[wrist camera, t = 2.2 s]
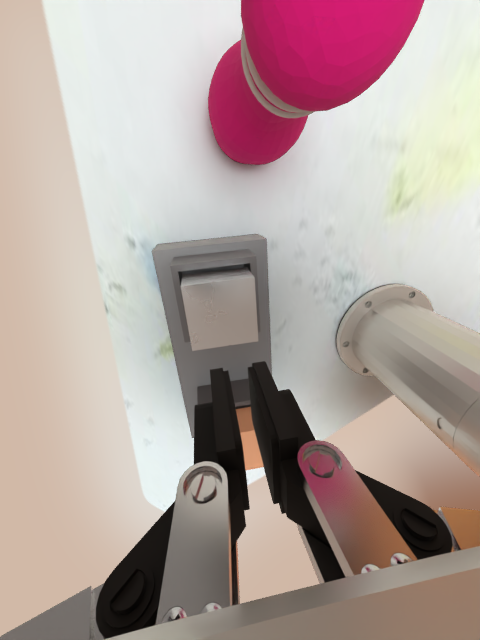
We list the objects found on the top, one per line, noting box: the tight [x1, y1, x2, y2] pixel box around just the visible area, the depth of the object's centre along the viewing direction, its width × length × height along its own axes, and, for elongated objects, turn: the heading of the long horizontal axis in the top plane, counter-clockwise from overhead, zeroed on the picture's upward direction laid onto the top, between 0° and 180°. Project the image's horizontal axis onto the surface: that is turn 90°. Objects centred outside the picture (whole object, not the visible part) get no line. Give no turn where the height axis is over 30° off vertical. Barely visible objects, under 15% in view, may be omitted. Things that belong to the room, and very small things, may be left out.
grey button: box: [181, 268, 258, 351], centre depth 20 cm, size 5×5×3 cm
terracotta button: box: [236, 407, 264, 470], centre depth 26 cm, size 5×5×3 cm
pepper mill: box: [208, 0, 424, 165], centre depth 14 cm, size 7×7×20 cm
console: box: [152, 234, 272, 438], centre depth 28 cm, size 22×10×8 cm, turn 5°
